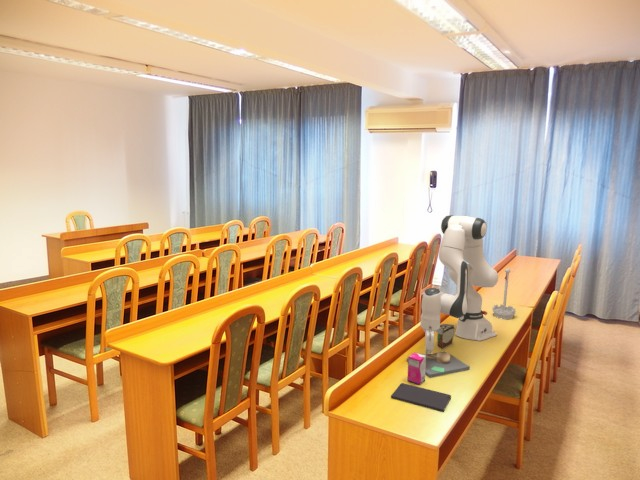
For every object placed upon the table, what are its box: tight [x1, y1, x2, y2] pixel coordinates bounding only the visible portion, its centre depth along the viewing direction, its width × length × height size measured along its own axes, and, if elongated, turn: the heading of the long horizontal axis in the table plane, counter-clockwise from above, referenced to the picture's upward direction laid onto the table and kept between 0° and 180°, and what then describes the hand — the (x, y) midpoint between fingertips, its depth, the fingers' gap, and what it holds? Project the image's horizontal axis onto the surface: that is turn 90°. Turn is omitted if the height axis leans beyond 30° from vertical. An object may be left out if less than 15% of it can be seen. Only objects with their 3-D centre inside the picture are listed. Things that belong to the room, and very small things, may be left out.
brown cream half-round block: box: [435, 323, 456, 350], centre depth 246 cm, size 12×6×10 cm, turn 134°
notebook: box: [390, 382, 452, 413], centre depth 193 cm, size 13×2×21 cm
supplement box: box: [407, 352, 426, 386], centre depth 207 cm, size 6×6×12 cm
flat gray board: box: [406, 350, 471, 379], centre depth 222 cm, size 22×19×2 cm
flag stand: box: [492, 267, 517, 320], centre depth 288 cm, size 13×13×30 cm
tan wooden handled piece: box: [418, 349, 451, 364], centre depth 224 cm, size 14×6×8 cm, turn 70°
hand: (428, 351), depth 225 cm, fingers open, 4 cm apart
